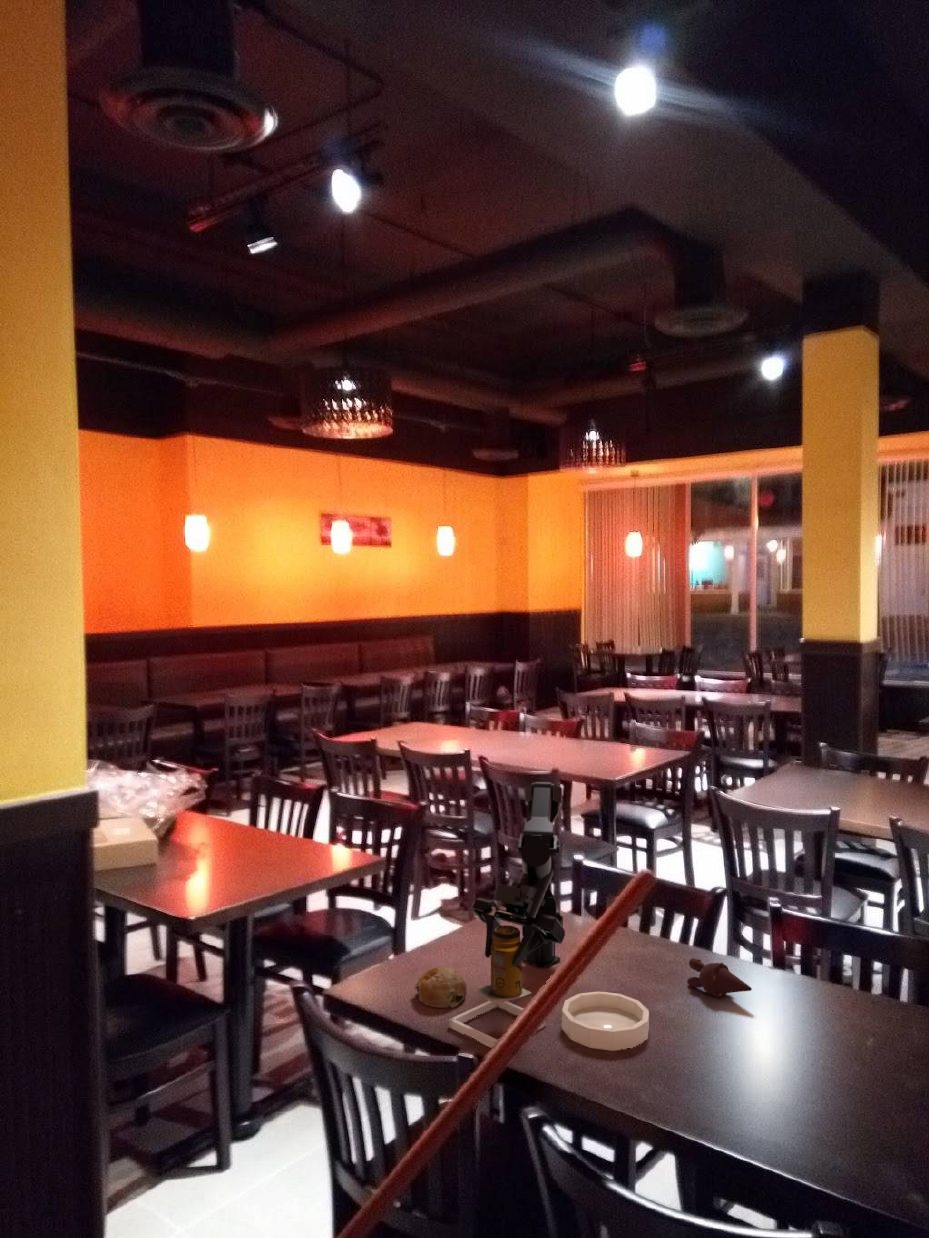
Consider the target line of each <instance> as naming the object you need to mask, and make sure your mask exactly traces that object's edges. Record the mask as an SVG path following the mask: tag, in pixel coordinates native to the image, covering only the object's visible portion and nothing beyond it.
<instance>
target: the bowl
mask: <svg viewBox="0 0 929 1238" xmlns="http://www.w3.org/2000/svg"><path fill="white" fill-rule="evenodd" d="M649 1023H650V1011H649V1009H648V1008H647V1007H646V1006H645V1005H643V1003H642V1002H641V1001H640V1000H638V999H635V998H632V997H630V996H627V995H624V994H621V993H617V992H616V993H614V992H607V991H606V992H605V991H591V992H582V993H577V994H575V995H574V996H573V995H572V996H571V997H569V998H568V999H565V1000H564V1003H563V1007H562V1008H561V1030H563V1032H564V1033H565V1035H566V1036H567V1037H568V1038H569V1039H570V1041H571V1040H572V1041H573V1042H575V1043H578V1044H580V1045H582V1046H585V1047H587V1048H590V1049H597V1050H604V1051H605V1050H606V1051H611V1052H612V1051H613V1052H614V1051H621V1049H622V1050H628V1049H627V1048H630V1049H634V1048H633V1047H635V1046H637V1045H638V1046H640V1045H641V1044H643V1043H644V1041H645V1040H646V1041H648V1040H647V1039H649V1030H650V1029H649V1028H650V1027H649V1026H650V1024H649ZM646 1041H645V1042H646ZM639 1044H640V1045H639ZM638 1046H637V1047H638ZM635 1048H636V1047H635Z"/></svg>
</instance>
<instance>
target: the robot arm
mask: <svg viewBox="0 0 929 1238" xmlns="http://www.w3.org/2000/svg"><path fill="white" fill-rule="evenodd" d="M524 797H525V798H524V803H525V805H526V806H528V808H527V809H528V814H529V815H530V820H527V822H525V823H524V825H523V833H519V840H518V847H517V852H518V855H520V859H521V868H522V872H521V875H520V877H519V880H518V882H515V881H514V882H513V883H512V884H511V886H510V885H506V884H502V883H497V884H496V889H495V891H494V892H495V893H494V896H493V900H491V899H486V898H483V897H478V898H475V900H474V901H473V903H472V905H471V908H470V909H471V910H472V911H473V913H475V915H476V916H477V918H478V919H479V920H480V921H481V922H483V923H484V924H486V926H485V927H486V936H485V948H484V956H485V957H486V958H491V943H492V942H493V930H494V928H496V927H498V926H502V922H503V921H504V922H507V923H512V924H514V925H519V926H521V928H522V929H521V931H522V932H521V933H522V935H521V936H522V938H521V939H520V945H519V947H518V949H517V951H516V954H515V956H514V959H513V962H512V964H513V965H514V966H517V965H518V964H519V963H520V962H521V961H522V962H526V963H529V964H531V965H533V966H537V967H539V968H542V969H545V968H546V967H548V966H551V965H553V964H556V963H557V962H560V961H561V959H562V958H561V957H559V956H557V955H556V944H562V943H563V941H564V938H565V936H566V931H565V928H564V917H563V915H562V914H561V910H559V909H558V902H557V900H556V899H555V896H554V894H553V892H552V889H551V888H552V878H553V876H554V869H553V866H552V859H553V858H554V857H557V854H560V853H561V852H560V851H561V850H560V849H561V840H560V839H559V836H558V835H557V834H555V825H554V822H555V821H556V819H557V818H558V816H559V814H560V807H562V806H563V788H562V787H560V786H558V785H555V784H554V783H552V782H551V781H550V782H548V781H534V782H531V784H530V785H526V786H525V796H524ZM495 901H497V902H499V901H500V902H501V906H502V907H503V908H505V909H502V908H499V906H498V905H497V904H496V902H495Z"/></svg>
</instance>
